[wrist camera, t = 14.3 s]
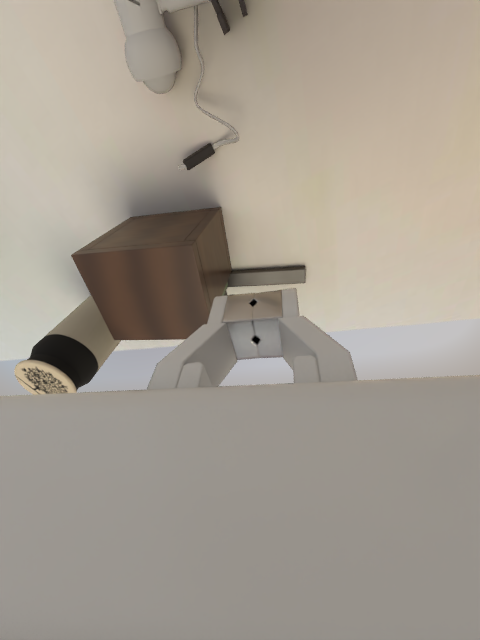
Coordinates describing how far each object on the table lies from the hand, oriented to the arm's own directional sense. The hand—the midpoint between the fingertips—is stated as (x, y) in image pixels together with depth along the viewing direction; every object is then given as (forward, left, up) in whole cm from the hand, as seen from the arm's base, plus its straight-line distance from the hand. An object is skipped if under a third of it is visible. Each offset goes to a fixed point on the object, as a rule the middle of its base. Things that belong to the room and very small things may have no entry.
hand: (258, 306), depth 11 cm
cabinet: (+9, +8, -28) cm, 31 cm away
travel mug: (+29, +17, -29) cm, 44 cm away
